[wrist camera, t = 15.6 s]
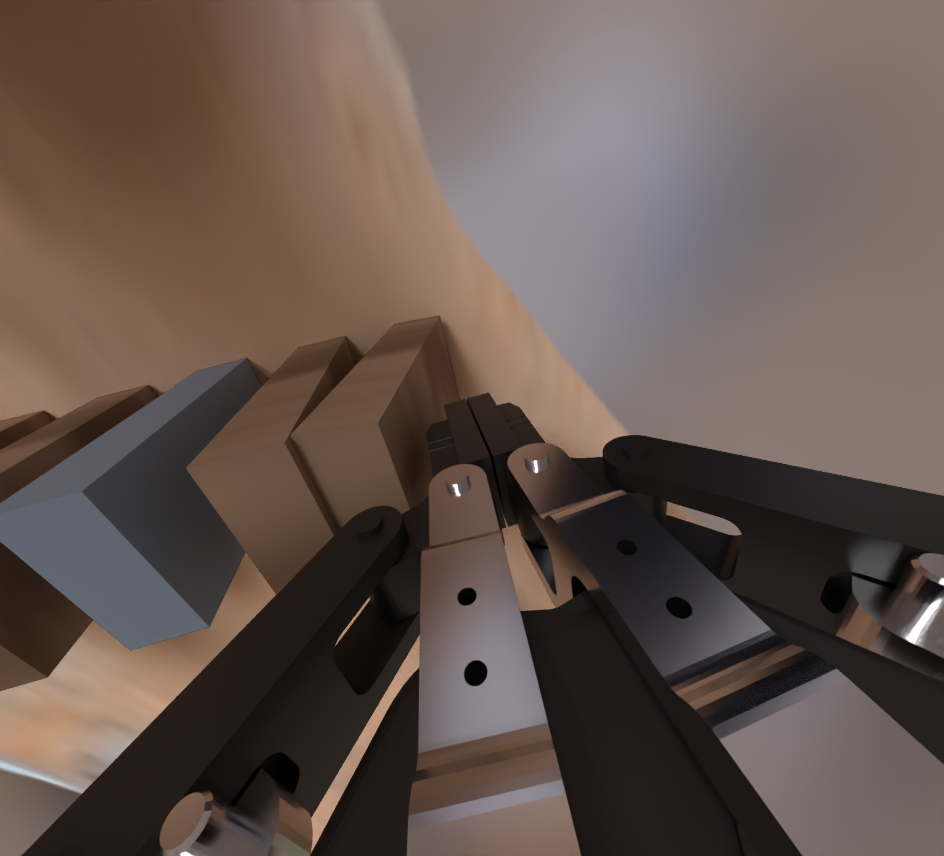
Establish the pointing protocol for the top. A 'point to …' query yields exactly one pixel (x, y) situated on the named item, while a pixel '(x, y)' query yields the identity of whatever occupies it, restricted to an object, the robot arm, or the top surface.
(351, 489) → the domino
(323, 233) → the top surface
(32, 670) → the domino
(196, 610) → the domino
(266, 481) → the domino
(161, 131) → the top surface
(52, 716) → the top surface
